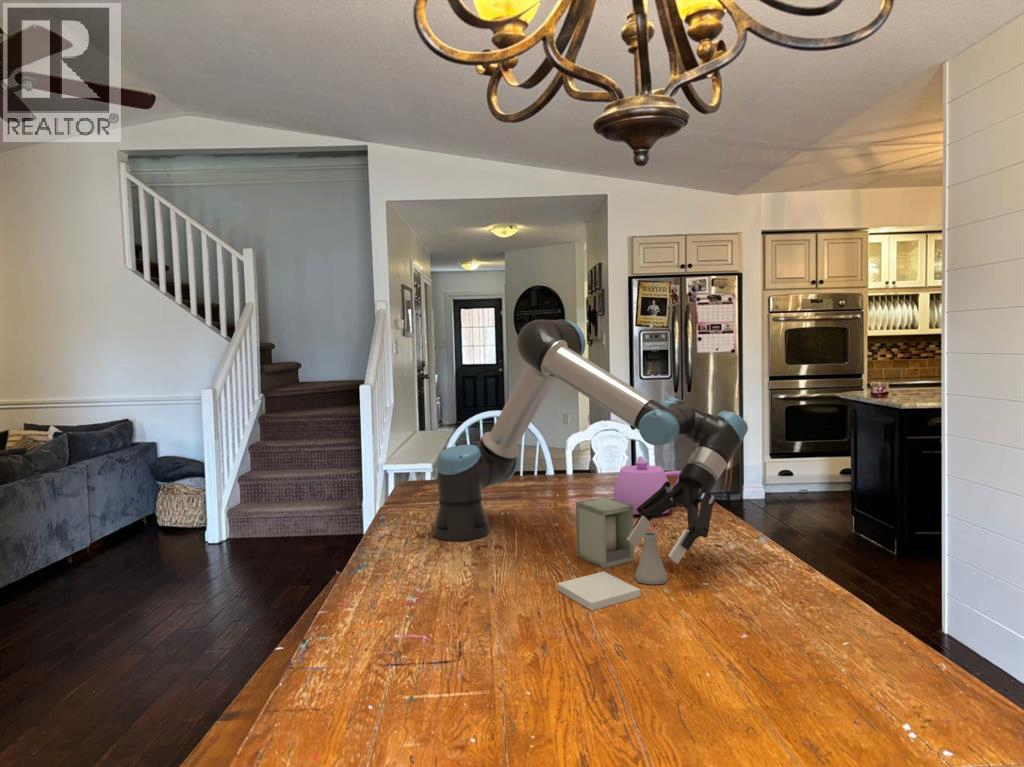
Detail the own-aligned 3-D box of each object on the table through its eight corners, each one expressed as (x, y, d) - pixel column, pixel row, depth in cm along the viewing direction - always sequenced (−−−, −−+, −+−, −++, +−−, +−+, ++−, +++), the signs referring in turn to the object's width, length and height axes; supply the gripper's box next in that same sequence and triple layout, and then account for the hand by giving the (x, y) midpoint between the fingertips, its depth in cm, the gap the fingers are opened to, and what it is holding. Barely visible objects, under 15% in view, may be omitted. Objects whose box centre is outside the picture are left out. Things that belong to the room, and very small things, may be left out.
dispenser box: (577, 556, 152) (575, 502, 151) (607, 549, 156) (606, 497, 155) (602, 568, 143) (601, 511, 142) (634, 560, 147) (632, 505, 146)
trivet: (557, 590, 131) (557, 583, 131) (603, 578, 137) (603, 571, 137) (591, 610, 121) (591, 603, 120) (640, 596, 126) (640, 589, 126)
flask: (669, 586, 131) (668, 539, 130) (633, 585, 133) (632, 538, 132) (667, 573, 138) (666, 528, 138) (634, 572, 140) (633, 528, 139)
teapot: (688, 519, 179) (687, 466, 178) (612, 518, 183) (611, 466, 182) (681, 499, 201) (681, 452, 200) (614, 498, 205) (613, 452, 204)
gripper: (755, 492, 132) (703, 578, 126) (672, 473, 154) (624, 545, 147) (736, 470, 129) (683, 557, 123) (654, 454, 151) (605, 527, 144)
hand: (651, 551), depth 135 cm, fingers open, 12 cm apart
